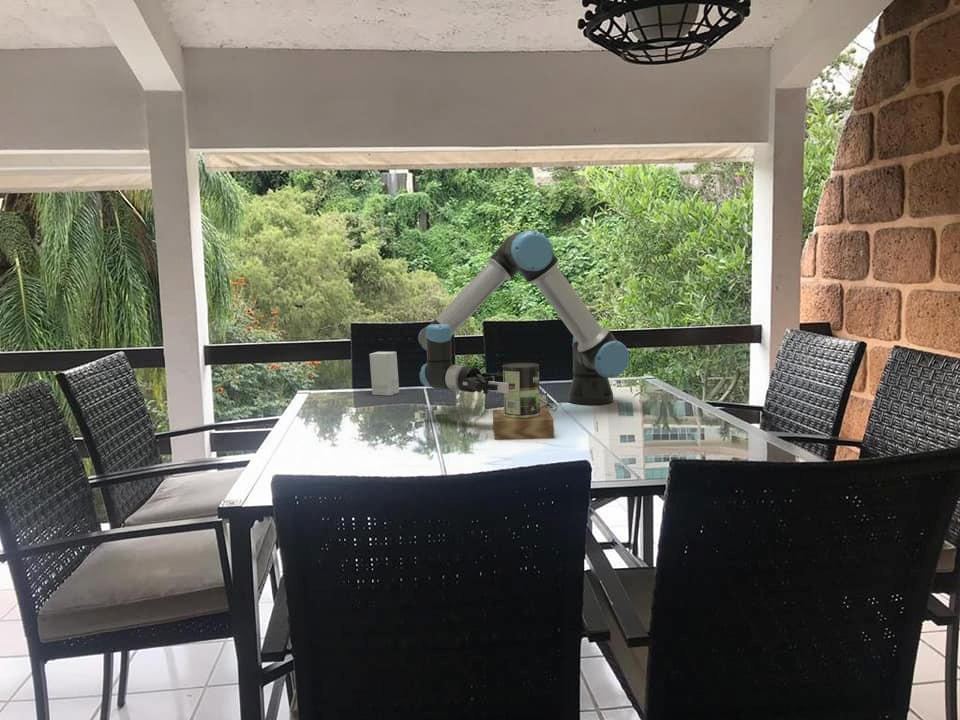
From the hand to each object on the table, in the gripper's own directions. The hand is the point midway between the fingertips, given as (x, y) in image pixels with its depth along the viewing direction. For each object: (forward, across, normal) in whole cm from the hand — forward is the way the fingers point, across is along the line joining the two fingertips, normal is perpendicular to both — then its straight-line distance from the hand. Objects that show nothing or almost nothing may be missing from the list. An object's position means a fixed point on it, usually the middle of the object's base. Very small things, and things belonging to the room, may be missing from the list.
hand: (522, 384), depth 217 cm
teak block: (-1, 0, -14) cm, 14 cm away
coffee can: (-1, 0, -9) cm, 9 cm away
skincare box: (-80, -24, -14) cm, 85 cm away
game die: (-8, -18, -14) cm, 24 cm away
